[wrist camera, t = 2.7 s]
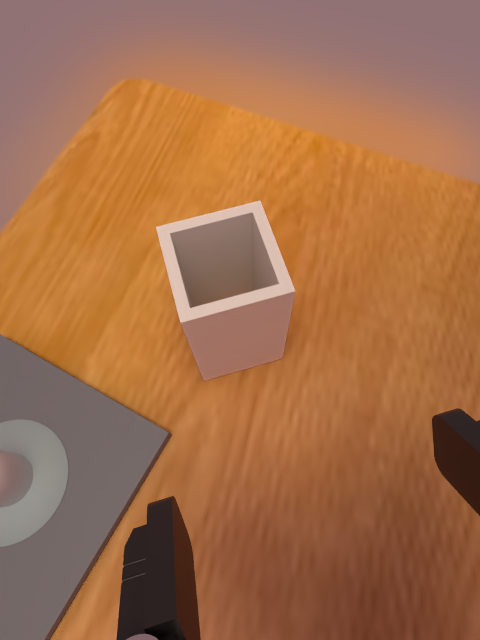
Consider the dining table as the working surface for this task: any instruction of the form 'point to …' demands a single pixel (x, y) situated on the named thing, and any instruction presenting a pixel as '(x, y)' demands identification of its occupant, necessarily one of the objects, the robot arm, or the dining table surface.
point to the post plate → (60, 486)
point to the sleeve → (229, 288)
